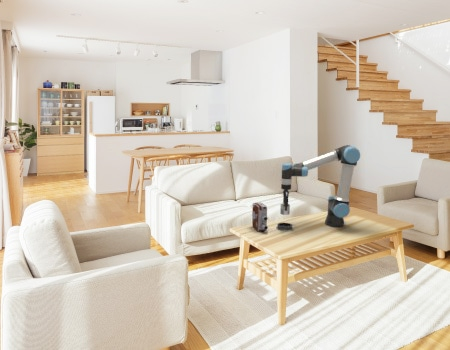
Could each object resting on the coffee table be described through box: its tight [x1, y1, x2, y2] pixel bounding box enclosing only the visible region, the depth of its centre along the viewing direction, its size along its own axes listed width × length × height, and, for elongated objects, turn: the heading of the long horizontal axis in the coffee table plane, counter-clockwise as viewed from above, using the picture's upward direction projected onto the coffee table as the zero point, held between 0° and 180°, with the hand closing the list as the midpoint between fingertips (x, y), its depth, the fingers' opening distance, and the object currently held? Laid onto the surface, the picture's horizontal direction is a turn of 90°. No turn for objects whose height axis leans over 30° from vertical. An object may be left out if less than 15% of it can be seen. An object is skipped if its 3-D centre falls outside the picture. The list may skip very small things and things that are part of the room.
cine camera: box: [251, 202, 269, 232], centre depth 300 cm, size 9×19×20 cm, turn 15°
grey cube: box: [279, 203, 291, 216], centre depth 302 cm, size 7×7×7 cm
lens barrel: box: [276, 222, 294, 232], centre depth 305 cm, size 13×13×3 cm
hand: (285, 213), depth 303 cm, fingers closed on grey cube, 7 cm apart
